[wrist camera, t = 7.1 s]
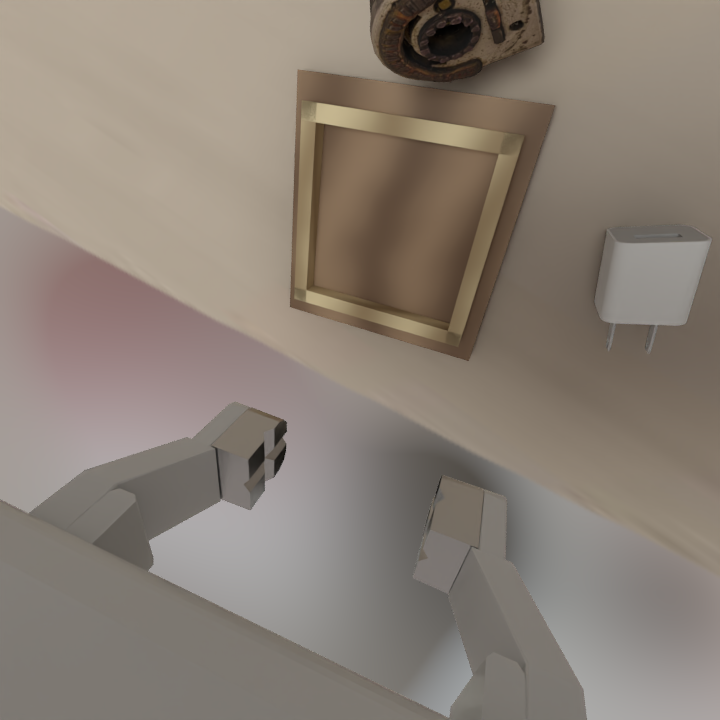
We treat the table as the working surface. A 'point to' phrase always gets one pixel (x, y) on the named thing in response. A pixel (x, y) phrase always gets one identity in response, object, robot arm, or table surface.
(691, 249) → the usb wall charger
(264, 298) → the table surface
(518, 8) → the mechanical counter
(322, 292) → the picture frame
